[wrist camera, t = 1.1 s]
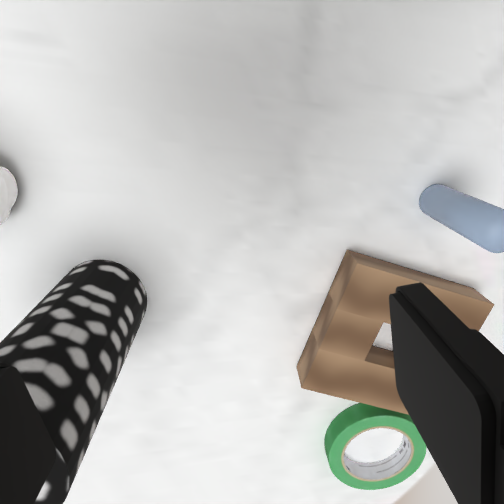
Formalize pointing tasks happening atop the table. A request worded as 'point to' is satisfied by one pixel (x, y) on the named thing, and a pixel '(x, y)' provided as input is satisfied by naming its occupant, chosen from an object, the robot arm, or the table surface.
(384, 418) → the tape roll
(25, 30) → the table surface
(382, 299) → the block
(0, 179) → the water bottle
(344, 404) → the table surface
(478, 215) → the peg
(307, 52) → the table surface
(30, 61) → the table surface
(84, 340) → the white-spotted black cylinder
